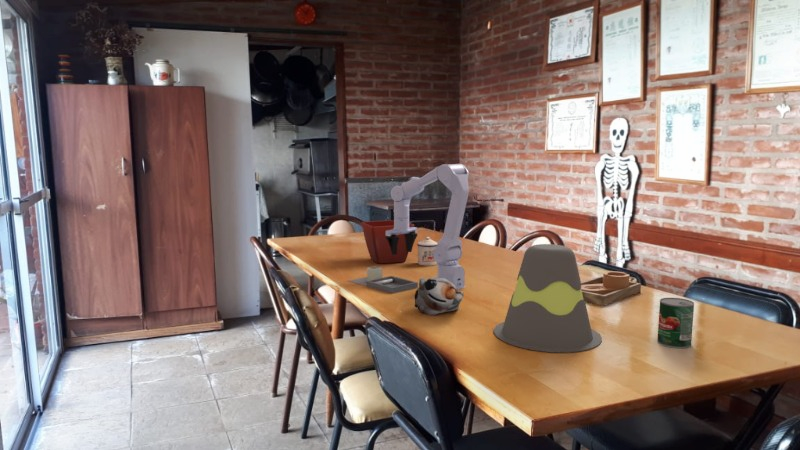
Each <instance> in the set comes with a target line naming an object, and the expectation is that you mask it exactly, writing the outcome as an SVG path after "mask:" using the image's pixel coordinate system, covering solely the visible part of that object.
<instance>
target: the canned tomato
mask: <svg viewBox="0 0 800 450" xmlns="http://www.w3.org/2000/svg"><path fill="white" fill-rule="evenodd" d="M694 309H695V302H694V301H692V300H690V299H686V298H680V297H663V298H660V299H659V311H658V326H657V340H656V341H657V343H658V344H659V345H661V346H664V347H668V348H670V349H671V348H672V349H673V348H674V349H688V348H691V347H692V341H693V340H692V339H693V326H694V325H693V323H694V322H693V321H694Z"/></svg>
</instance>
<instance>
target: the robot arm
mask: <svg viewBox="0 0 800 450" xmlns="http://www.w3.org/2000/svg"><path fill="white" fill-rule="evenodd" d="M469 175H470V172H469V170H468V169H467V167H466V166H465V165H464V164H463V163H454V164H453V163H451V164H450V163H449V164H448V163H444V164H441V165H439V166H436V167H435V168H434V169H432V170H431V171H429V172H427V173H426V174H424V175H422V177H419V176H411V177H410V178H409V180H407V181H404V182H402V183H401V185H394V186H393V187H392V188H391V190H390V197H391V199H392V201H393V220H394V228H393V229H391V230H387V231H386V239H387V241H388V243H389V245H390V248H391V252H392V254H394V255H396V254H397V245H398V240H399V237H396V235H399V234H404V236H405V240H406V251H407V252H409V253H412V251H413V247H414V243H415V241H416V239H417V237H418V227H415V226H414V227H409V223H410V204H411V200H412V198H413V197H414V196H416V195H418V194H420V193H422V192H423V191H424V190H425V187H427V186H428V185H431V184H432V183H434V182H437V181H440V182H441V183H442V184H443V185H444V186H445V187H446V188H447V189H448V190H449V191H450V192H451V198H450V200H449V201H450V202H449V207H448V211H447V216H446V219H445V220H446V221H445V225H444V230H443V235H442V237H441V238H440V239H439V240H438V241H437V246H436V248H435V249H434V251H433V257H434V259H435V261H436V262H437V263H436V264H437V277H440V278H445V279H447V280H448V281H449V282H451V283H452V284H454V285H455V288H456V291H459V290H462V289H465V288H467V287H466V286H465V285H466V284H465V282H466V281H465V280H466V279H465V278H466V277H465V276H466V275H465V274H466V273H465V272H466V271H465V268H464V267H463V266H462V265H460V264H459V262H460V259H461V257H462V256H463V249H462V248H463V247H462V246H463V242H462V241H461V240H460V234H461V230H462V225H463V222H464V221H463V220H464V215H465V211H466V206H467V202H468V197H469V192H470V188H469V187H470V186H469ZM400 232H402V233H400Z"/></svg>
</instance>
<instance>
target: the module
mask: <svg viewBox="0 0 800 450" xmlns="http://www.w3.org/2000/svg"><path fill="white" fill-rule="evenodd" d="M366 277H367V281H369V280H374V279H379V278H383V267H380V266H378V265H373V266H369V267H366Z"/></svg>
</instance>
